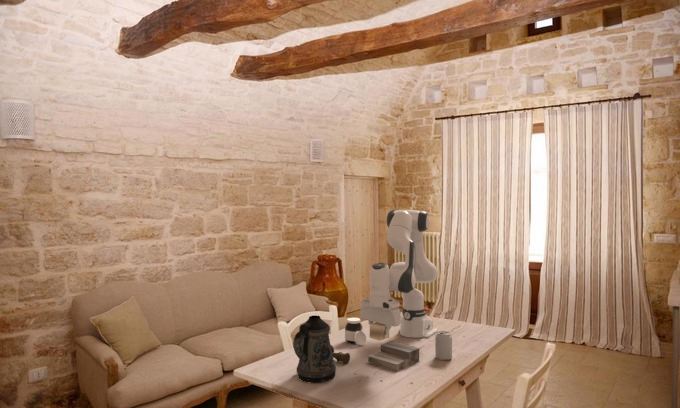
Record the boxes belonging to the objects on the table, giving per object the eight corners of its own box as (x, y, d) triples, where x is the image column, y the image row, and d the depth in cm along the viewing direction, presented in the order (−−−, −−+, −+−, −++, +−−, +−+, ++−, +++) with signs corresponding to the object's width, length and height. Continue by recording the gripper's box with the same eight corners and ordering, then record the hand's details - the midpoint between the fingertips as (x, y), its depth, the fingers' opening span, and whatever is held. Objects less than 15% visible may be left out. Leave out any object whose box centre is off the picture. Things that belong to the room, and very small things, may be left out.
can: (441, 354, 225) (441, 329, 225) (455, 358, 220) (455, 332, 220) (432, 358, 220) (432, 332, 220) (446, 362, 215) (446, 335, 214)
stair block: (391, 353, 227) (391, 340, 227) (419, 361, 216) (419, 348, 216) (368, 362, 215) (368, 349, 215) (396, 371, 204) (396, 357, 204)
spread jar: (351, 338, 252) (351, 316, 251) (371, 341, 247) (370, 318, 246) (341, 344, 241) (341, 321, 240) (361, 347, 236) (361, 324, 236)
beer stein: (340, 370, 205) (339, 312, 205) (328, 388, 187) (328, 324, 186) (303, 367, 209) (303, 310, 209) (288, 384, 190) (288, 322, 190)
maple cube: (378, 321, 212) (369, 324, 207) (389, 323, 208) (380, 326, 203) (378, 334, 212) (369, 337, 208) (389, 337, 208) (380, 340, 203)
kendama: (341, 368, 209) (306, 358, 221) (353, 362, 217) (319, 353, 229) (341, 355, 209) (306, 345, 221) (354, 349, 217) (319, 340, 229)
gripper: (357, 298, 212) (357, 329, 213) (393, 305, 198) (394, 339, 199) (366, 296, 217) (366, 326, 217) (402, 303, 203) (403, 335, 203)
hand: (379, 332), depth 208 cm, fingers closed on maple cube, 6 cm apart
